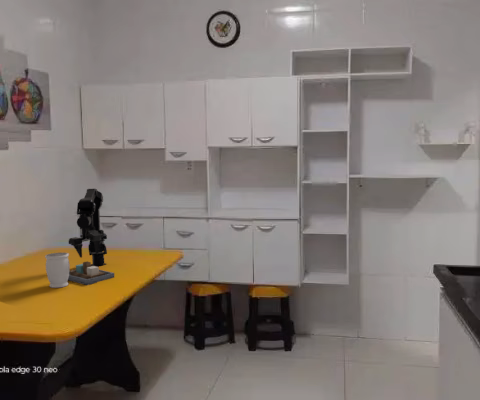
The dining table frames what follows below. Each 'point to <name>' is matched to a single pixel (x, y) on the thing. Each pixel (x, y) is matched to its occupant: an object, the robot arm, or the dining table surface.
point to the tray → (92, 280)
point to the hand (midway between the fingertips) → (89, 255)
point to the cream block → (92, 270)
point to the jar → (57, 269)
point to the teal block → (79, 268)
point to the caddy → (85, 272)
